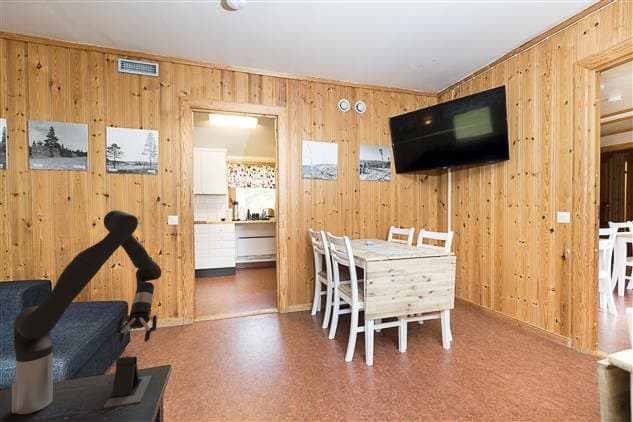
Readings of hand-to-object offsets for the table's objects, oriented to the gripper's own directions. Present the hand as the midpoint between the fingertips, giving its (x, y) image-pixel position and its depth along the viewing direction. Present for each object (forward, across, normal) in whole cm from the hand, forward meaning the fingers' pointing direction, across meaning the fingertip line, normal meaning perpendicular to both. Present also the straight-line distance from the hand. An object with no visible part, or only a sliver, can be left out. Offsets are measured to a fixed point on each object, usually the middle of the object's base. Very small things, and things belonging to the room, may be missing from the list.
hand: (133, 342), depth 121 cm
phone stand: (+16, 0, +3) cm, 17 cm away
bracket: (+17, +1, +2) cm, 17 cm away
